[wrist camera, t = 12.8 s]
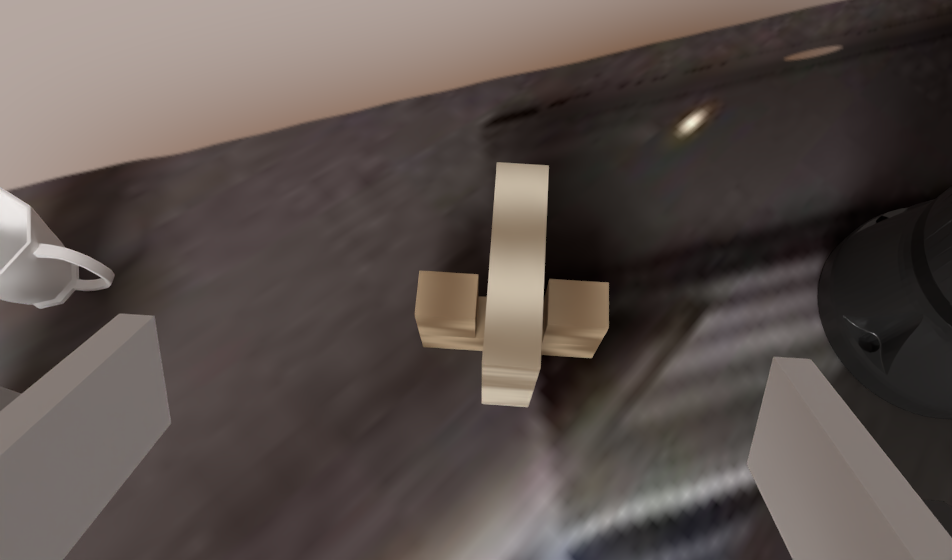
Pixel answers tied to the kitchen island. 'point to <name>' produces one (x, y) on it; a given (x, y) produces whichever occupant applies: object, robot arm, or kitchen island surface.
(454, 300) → the oak slot board
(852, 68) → the kitchen island surface
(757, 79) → the kitchen island surface
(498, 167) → the cream wavy slab
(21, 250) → the cup
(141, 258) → the kitchen island surface
